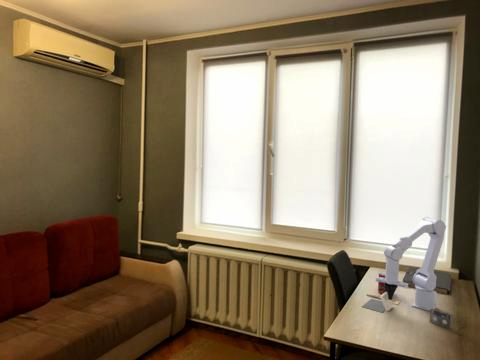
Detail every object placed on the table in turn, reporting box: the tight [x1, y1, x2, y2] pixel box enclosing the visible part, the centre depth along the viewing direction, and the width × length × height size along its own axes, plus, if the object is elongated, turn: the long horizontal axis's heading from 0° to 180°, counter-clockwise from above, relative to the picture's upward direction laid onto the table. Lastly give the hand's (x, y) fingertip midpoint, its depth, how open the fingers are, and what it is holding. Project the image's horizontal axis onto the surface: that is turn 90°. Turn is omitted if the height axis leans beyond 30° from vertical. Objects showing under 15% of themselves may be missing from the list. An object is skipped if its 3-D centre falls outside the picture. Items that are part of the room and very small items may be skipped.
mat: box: [361, 298, 386, 314], centre depth 183 cm, size 10×14×1 cm
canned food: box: [377, 270, 387, 295], centre depth 201 cm, size 8×8×11 cm
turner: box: [366, 293, 401, 306], centre depth 192 cm, size 16×5×1 cm, turn 51°
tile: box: [379, 292, 395, 312], centre depth 180 cm, size 2×7×7 cm, turn 140°
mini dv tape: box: [429, 309, 453, 329], centre depth 164 cm, size 8×2×6 cm, turn 41°
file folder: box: [402, 266, 452, 295], centre depth 222 cm, size 33×4×24 cm
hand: (390, 299), depth 179 cm, fingers closed
